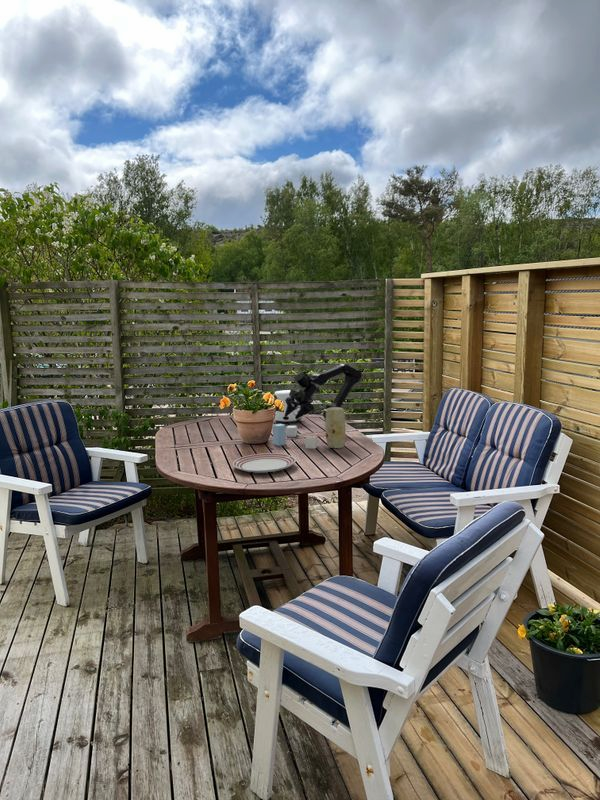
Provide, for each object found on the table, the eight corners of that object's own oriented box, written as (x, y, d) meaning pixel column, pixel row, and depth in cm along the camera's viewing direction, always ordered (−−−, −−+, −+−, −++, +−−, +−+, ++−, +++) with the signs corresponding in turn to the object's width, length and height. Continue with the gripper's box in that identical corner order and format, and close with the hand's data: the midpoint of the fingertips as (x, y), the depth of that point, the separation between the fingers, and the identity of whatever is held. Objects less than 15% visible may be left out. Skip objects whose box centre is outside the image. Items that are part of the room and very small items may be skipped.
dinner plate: (239, 479, 238) (238, 472, 238) (228, 463, 264) (227, 455, 264) (303, 473, 246) (303, 465, 245) (286, 457, 272) (286, 450, 271)
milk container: (304, 423, 345) (303, 393, 342) (275, 425, 343) (274, 394, 340) (300, 418, 362) (299, 389, 359) (272, 419, 360) (271, 390, 357)
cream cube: (317, 446, 291) (317, 436, 290) (315, 448, 286) (315, 438, 285) (307, 445, 292) (307, 436, 291) (305, 448, 287) (305, 438, 286)
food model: (344, 445, 290) (343, 405, 287) (346, 448, 284) (346, 408, 281) (324, 446, 289) (324, 406, 286) (327, 449, 283) (326, 408, 279)
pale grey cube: (297, 434, 317) (297, 425, 316) (295, 436, 312) (295, 427, 311) (288, 434, 318) (287, 425, 317) (286, 436, 313) (285, 427, 312)
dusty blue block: (280, 442, 299) (280, 423, 298) (285, 444, 296) (285, 424, 294) (273, 444, 297) (272, 424, 295) (278, 445, 293) (277, 426, 291)
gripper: (287, 382, 306) (270, 405, 301) (309, 385, 291) (291, 410, 286) (300, 395, 312) (283, 418, 307) (321, 399, 297) (304, 423, 292)
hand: (290, 417), depth 298 cm, fingers open, 9 cm apart
